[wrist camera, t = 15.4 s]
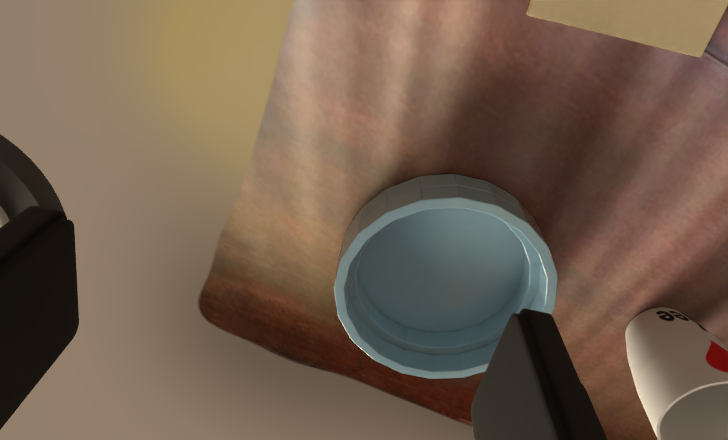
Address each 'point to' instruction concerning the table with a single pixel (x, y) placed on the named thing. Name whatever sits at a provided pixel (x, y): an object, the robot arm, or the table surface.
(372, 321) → the pan
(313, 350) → the table surface
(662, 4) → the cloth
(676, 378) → the cup
